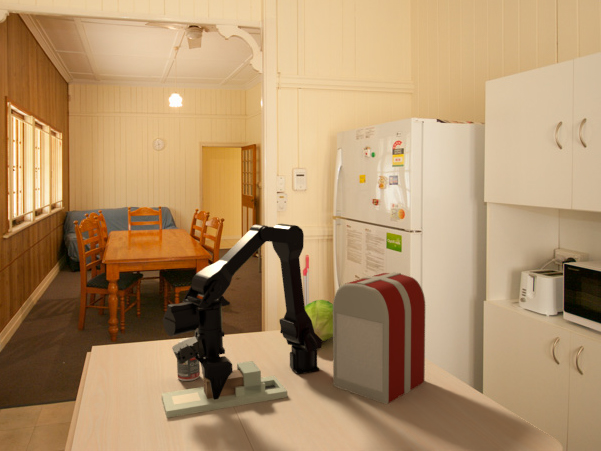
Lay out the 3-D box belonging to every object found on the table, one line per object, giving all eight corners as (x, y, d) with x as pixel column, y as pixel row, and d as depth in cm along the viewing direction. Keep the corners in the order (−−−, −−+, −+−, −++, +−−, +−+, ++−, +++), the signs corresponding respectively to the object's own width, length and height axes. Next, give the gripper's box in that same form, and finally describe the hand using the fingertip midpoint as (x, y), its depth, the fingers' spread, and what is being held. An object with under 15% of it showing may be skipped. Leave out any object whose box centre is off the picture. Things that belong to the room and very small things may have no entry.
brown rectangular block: (252, 383, 131) (252, 366, 130) (257, 390, 127) (257, 373, 126) (203, 391, 127) (203, 374, 126) (207, 398, 123) (206, 381, 122)
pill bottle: (194, 382, 136) (193, 344, 135) (174, 381, 137) (172, 343, 136) (203, 373, 141) (201, 337, 140) (183, 372, 143) (181, 336, 141)
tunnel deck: (274, 381, 136) (274, 355, 135) (287, 397, 126) (287, 369, 126) (161, 399, 126) (160, 371, 125) (166, 417, 117) (165, 388, 116)
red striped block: (426, 381, 135) (427, 276, 132) (387, 404, 122) (387, 288, 119) (372, 365, 146) (372, 268, 143) (331, 385, 133) (330, 278, 130)
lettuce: (291, 352, 157) (290, 313, 156) (304, 328, 179) (303, 294, 178) (335, 354, 155) (334, 315, 153) (342, 330, 177) (342, 295, 176)
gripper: (169, 319, 129) (172, 381, 131) (179, 343, 112) (182, 414, 114) (214, 314, 133) (216, 374, 135) (232, 336, 116) (234, 405, 117)
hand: (212, 391), depth 125 cm, fingers open, 9 cm apart
